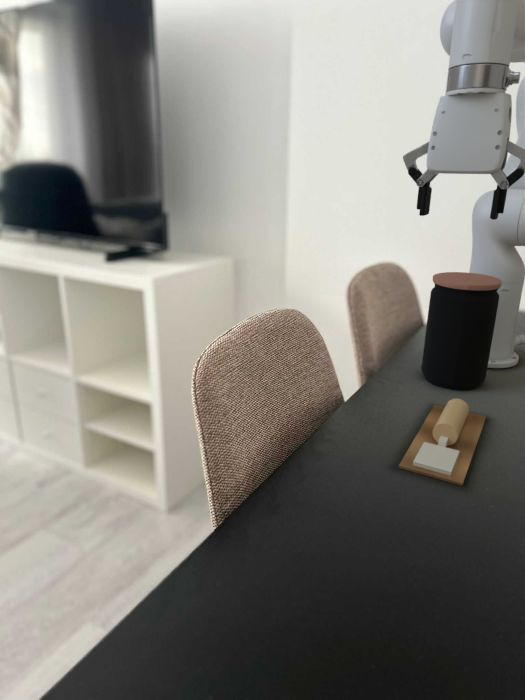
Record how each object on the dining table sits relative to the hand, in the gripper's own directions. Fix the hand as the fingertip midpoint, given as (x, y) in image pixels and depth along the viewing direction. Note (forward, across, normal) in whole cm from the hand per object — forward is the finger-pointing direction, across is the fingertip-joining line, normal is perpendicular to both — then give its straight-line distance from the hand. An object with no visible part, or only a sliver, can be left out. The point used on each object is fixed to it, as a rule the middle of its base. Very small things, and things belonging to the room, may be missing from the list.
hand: (457, 216), depth 74 cm
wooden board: (+28, -5, +14) cm, 32 cm away
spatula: (+28, -5, +15) cm, 32 cm away
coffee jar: (+28, -1, -9) cm, 30 cm away
